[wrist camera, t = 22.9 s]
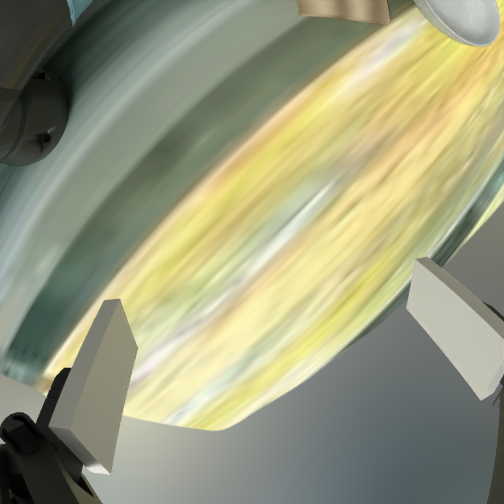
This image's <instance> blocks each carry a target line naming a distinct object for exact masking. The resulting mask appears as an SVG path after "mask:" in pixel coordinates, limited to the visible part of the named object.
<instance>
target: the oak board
mask: <svg viewBox="0 0 504 504" xmlns="http://www.w3.org/2000/svg"><path fill="white" fill-rule="evenodd" d="M297 4H298V11H299V16H316V17H328V18H338V19H347V20H355V21H362V22H368V23H374V24H380V25H385V26H386V25H389V24H391V22H390V16H389V10H388V5H387V0H297Z"/></svg>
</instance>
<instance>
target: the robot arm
mask: <svg viewBox="0 0 504 504" xmlns="http://www.w3.org/2000/svg"><path fill="white" fill-rule="evenodd" d="M92 1H93V0H0V163H4V164H8V165H12V166H26V165H29V164H32V163H35V162H38V161H40V160H41V159H43V158H45V157H46V156H47V155H48V154H49V153H50V152H51V151H52V150H53V149H54V148H55V146H56V145H57V143H58V142H59V140H60V138H61V136H62V134H63V131H64V128H65V125H66V121H67V115H68V98H67V93H66V90H65V87H64V85H63V83H62V81H61V80H60V79H59V77H58V76H57V75H56V74H54V73H53V72H51V71H50V70H47V69H43V68H39V67H40V65H41V64H42V62H43V61H44V60H45V58H46V57H47V56H48V54H49V53H50V52H51V50H52V49H53V48H54V46H55V45H56V44H57V43H58V41H59V40H60V39H61V38H62V37H63V35H64V34H65V33H66V32H67V31H68V29H69V28H72V27H73V26H74V25H75V23H76V20H77V19H78V18H79V16H80V15H81V14H82V13H83V12H84V11H85V10H86V8H87V7H88V6H89V5H90V4H91V3H92ZM406 308H407V310H408V311H409V312H410V313H411V314H412V315H413V317H414V318H415V319H416V320H417V321H418V322H419V324H420V325H421V326H422V327H423V328H424V329H425V331H426V332H427V333H428V334H429V335H430V336H431V338H432V339H433V340H434V341H435V343H436V344H437V345H438V346H439V347H440V349H441V350H442V351H443V352H444V353H445V355H446V356H447V357H448V358H449V359H450V361H451V362H452V363H453V365H454V366H455V367H456V368H457V370H458V371H459V372H460V373H461V375H462V376H463V377H464V379H465V380H466V381H467V383H468V384H469V385H470V387H471V388H472V389H473V391H474V392H475V393H476V395H477V396H478V397H479V399H480V400H482V399H484V398H486V397H487V396H489V395H491V394H492V393H494V391H495V389H496V388H497V386H498V384H499V382H500V383H501V384H502V385H503V388H502V390H501V391H500V393H499V394H498V396H497V398H496V399H495V401H494V402H493V407H495V405H496V404H497V402H498V401H499V400H500V404H499V405H498V408H500V415H499V430H498V441H497V450H496V458H495V465H494V471H493V477H492V483H491V488H490V493H489V497H488V501H487V504H504V317H503V316H502V315H500V313H499V312H498V311H497V310H495V309H494V308H493V307H492V306H490V305H488V304H486V303H484V302H481V301H480V300H479V299H478V298H477V297H476V296H475V295H473V294H472V293H471V292H470V291H469V290H468V289H466V288H465V287H464V286H463V285H462V284H460V283H459V282H458V281H457V280H456V279H454V278H453V277H452V276H451V275H450V274H448V273H447V272H446V271H445V270H443V269H442V268H441V267H440V266H438V265H437V264H436V263H435V262H433V261H432V260H431V259H429V258H428V257H424V258H418V259H415V263H414V269H413V275H412V281H411V287H410V292H409V297H408V303H407V307H406ZM137 351H138V347H137V345H136V342H135V339H134V337H133V334H132V331H131V329H130V326H129V323H128V320H127V318H126V315H125V312H124V309H123V306H122V303H121V300H120V299H113V300H104V302H103V304H102V306H101V308H100V309H99V311H98V313H97V315H96V317H95V319H94V321H93V323H92V325H91V327H90V330H89V332H88V334H87V336H86V338H85V340H84V342H83V344H82V346H81V348H80V351H79V353H78V355H77V357H76V359H75V362H74V364H73V366H72V368H63V369H62V370H61V372H60V373H59V374H58V375H57V376H56V377H55V379H54V381H53V383H52V386H51V390H49V393H48V395H47V398H46V400H45V402H44V404H43V407H42V409H41V412H40V414H39V417H38V419H37V422H36V424H35V423H34V422H33V420H32V419H31V418H30V417H29V416H28V415H27V414H25V413H23V412H17V413H14V414H11V415H9V416H8V417H7V418H5V420H4V421H3V422H2V424H1V426H0V438H1V439H2V440H3V441H4V442H5V443H6V444H0V504H102V502H101V501H100V499H99V498H98V496H97V495H96V493H95V492H94V490H93V489H92V487H91V485H90V484H89V482H88V480H87V479H86V477H85V476H84V475H83V474H82V473H81V472H82V467H83V465H84V466H85V467H87V468H88V469H89V470H90V471H91V472H94V473H102V474H111V470H112V465H113V458H114V453H115V448H116V442H117V437H118V432H119V427H120V422H121V418H122V413H123V408H124V404H125V399H126V395H127V391H128V386H129V382H130V378H131V374H132V370H133V366H134V362H135V358H136V354H137Z"/></svg>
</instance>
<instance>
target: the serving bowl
mask: <svg viewBox="0 0 504 504" xmlns="http://www.w3.org/2000/svg"><path fill="white" fill-rule="evenodd" d="M413 1H414V2H415V4H416V6H417V7H418V8H419V10H420V11H421V13H422V14H423V15H424V16H425V17H426V19H427V20H428V21H429V22H430V23H431V24H432V25H433V26H434V27H436V28H437V29H438V30H439V31H440V32H442V33H443V34H444V35H446V36H448V37H449V38H451V39H453V40H455V41H457V42H459V43H462V44H465V45H469V46H476V47H485V46H488V45H490V44H492V43H493V42H494V41H495V40H496V38H497V36H498V33H499V29H500V16H499V10H498V6H497V3H496V0H413Z"/></svg>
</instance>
